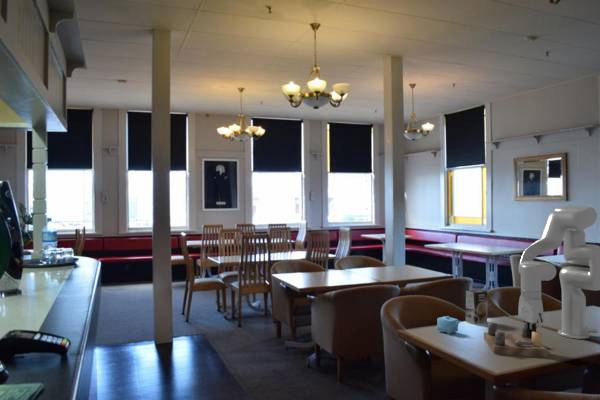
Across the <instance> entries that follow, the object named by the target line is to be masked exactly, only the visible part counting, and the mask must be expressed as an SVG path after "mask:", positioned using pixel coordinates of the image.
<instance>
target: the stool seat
mask: <svg viewBox="0 0 600 400" xmlns="http://www.w3.org/2000/svg"><path fill="white" fill-rule="evenodd" d="M521 327H522V328H521V330H522V331H521V333H520V334H519V333H518V334H517V333H505V331H501V330H498V323H497V322H493V321H489V322H487V332H486V331H484V332H483V340H484V341H485V342H486V344H487V346H488V347H489V349H490V350H491V351H492V353H493V354H494V355H496V354H497V355H508V356H522V357H523V356H524V357H538V358H548V356H549V355H548V350H549V349H547V347H545V345H543V344H542V346H540V347H538V346H533V345H516V344H515V341H516V340H519V341H532V339H529V338H527V328H526V325H525V323H522V325H521Z"/></svg>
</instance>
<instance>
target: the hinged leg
mask: <svg viewBox="0 0 600 400" xmlns="http://www.w3.org/2000/svg"><path fill="white" fill-rule="evenodd" d="M542 339H543V333H542V332H540V331H536V332H535V331H534V332H532V341H519V340H516V341H515V344H516V345H533V346H538V347H540V346H542V345H543V340H542Z"/></svg>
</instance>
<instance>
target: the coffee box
mask: <svg viewBox="0 0 600 400" xmlns="http://www.w3.org/2000/svg"><path fill="white" fill-rule="evenodd" d="M465 322H466V323H468V324H472V325H480V324H481V325H482V324H488V291H487V290H482V289H470V290H465Z"/></svg>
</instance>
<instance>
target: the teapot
mask: <svg viewBox="0 0 600 400" xmlns="http://www.w3.org/2000/svg"><path fill="white" fill-rule="evenodd" d="M436 321H437V325H436V327H437V331H440V333H441V334H442V333H443V334H444V333H446V334H447V335H451V334H455V333H456V332H458V331H459V323H461V322H462V321H461V320H459V319H458V318H455V317H450V316H449V315H447V316H446V315H444V316H442V317H441V316H440V317H437V319H436Z"/></svg>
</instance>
